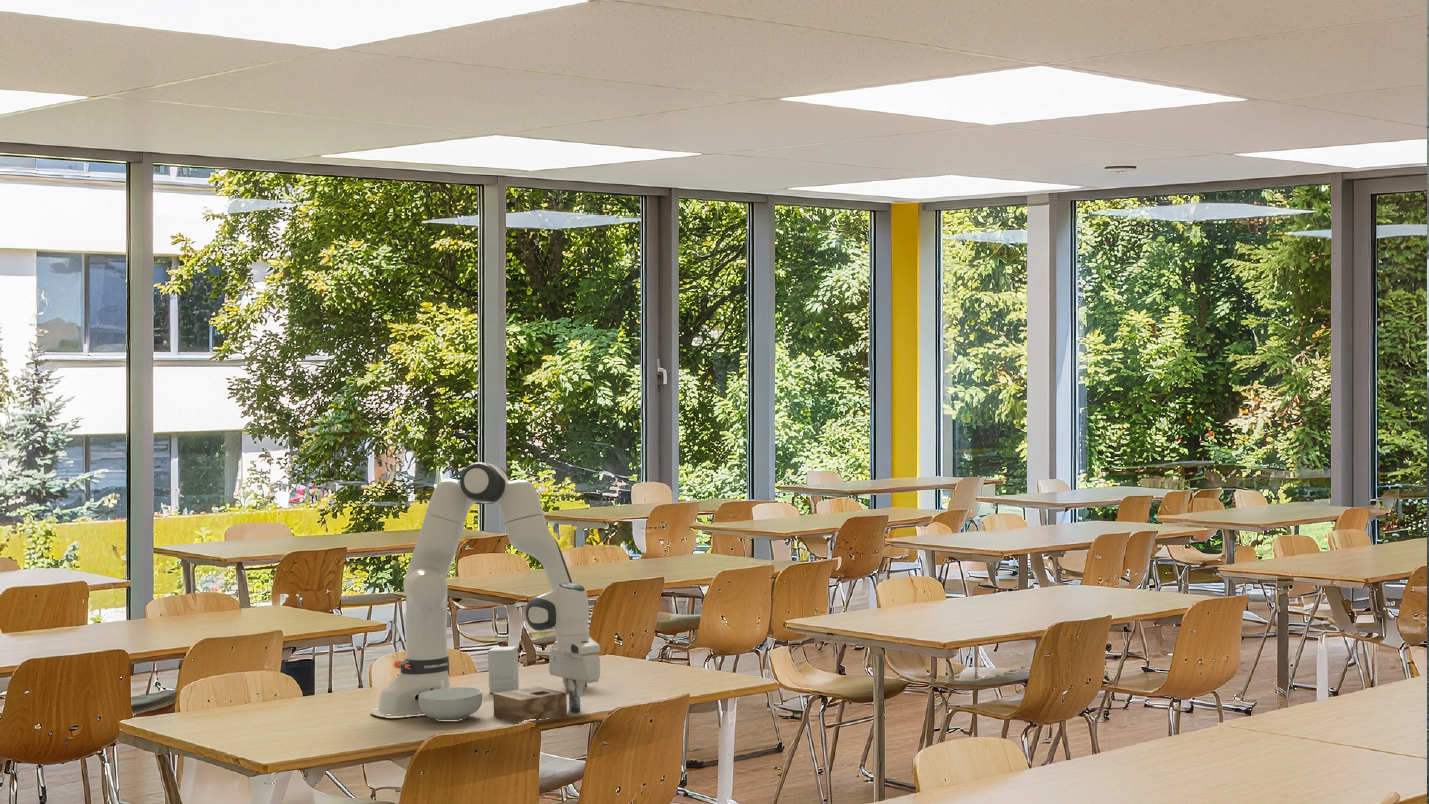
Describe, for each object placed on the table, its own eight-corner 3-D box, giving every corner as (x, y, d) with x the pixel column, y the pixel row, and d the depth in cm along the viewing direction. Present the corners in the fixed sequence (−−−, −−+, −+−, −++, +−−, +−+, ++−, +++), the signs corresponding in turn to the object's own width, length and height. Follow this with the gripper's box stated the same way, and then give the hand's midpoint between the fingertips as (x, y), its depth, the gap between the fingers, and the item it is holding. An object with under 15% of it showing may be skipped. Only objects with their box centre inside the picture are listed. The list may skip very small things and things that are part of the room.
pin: (573, 712, 395) (572, 675, 395) (567, 711, 398) (566, 673, 398) (582, 711, 397) (581, 673, 397) (576, 709, 399) (575, 672, 400)
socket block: (520, 723, 382) (520, 700, 383) (493, 716, 393) (493, 693, 394) (567, 715, 391) (566, 693, 391) (539, 708, 402) (538, 686, 402)
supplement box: (519, 689, 434) (518, 645, 434) (513, 693, 427) (512, 649, 427) (494, 689, 435) (493, 646, 435) (488, 694, 427) (487, 650, 428)
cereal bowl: (414, 716, 396) (413, 690, 396) (475, 710, 402) (475, 684, 402) (424, 728, 380) (424, 700, 380) (489, 721, 386) (488, 694, 386)
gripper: (542, 641, 404) (543, 692, 404) (583, 649, 388) (585, 702, 388) (562, 639, 408) (563, 689, 407) (603, 646, 392) (605, 698, 391)
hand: (574, 695), depth 397 cm, fingers closed on pin, 3 cm apart
